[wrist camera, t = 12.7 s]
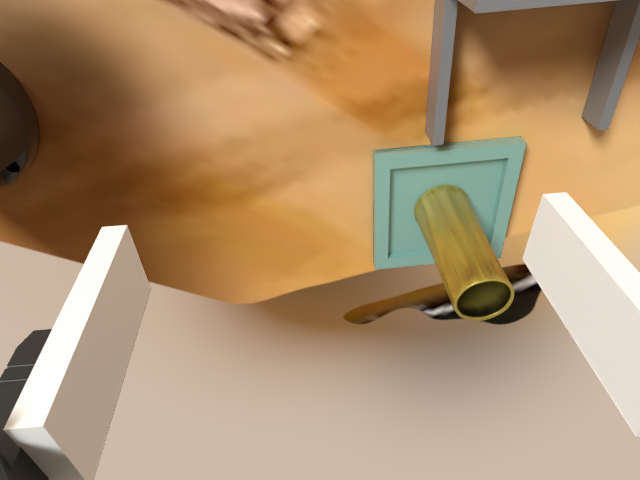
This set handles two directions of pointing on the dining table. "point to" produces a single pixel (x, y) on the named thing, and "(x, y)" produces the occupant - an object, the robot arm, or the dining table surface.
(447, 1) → the dock
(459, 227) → the vase
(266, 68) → the dining table surface
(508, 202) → the tray
